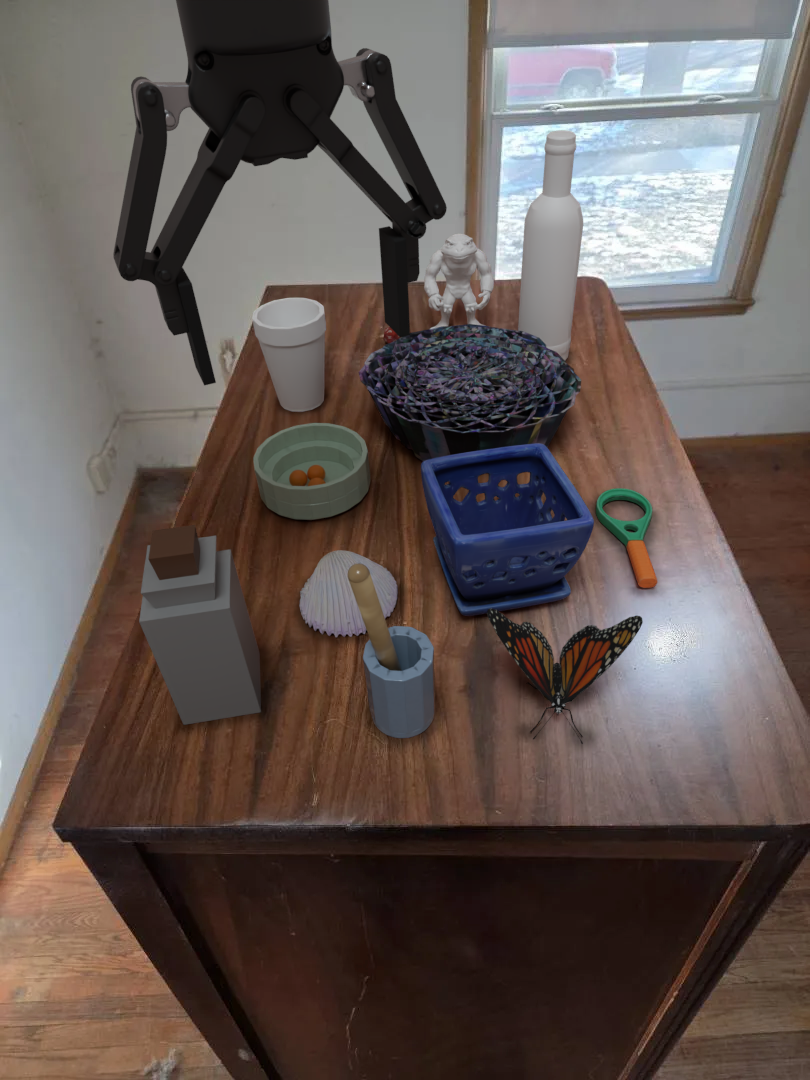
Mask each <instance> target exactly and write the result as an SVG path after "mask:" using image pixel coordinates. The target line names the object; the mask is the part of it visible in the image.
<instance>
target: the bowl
mask: <svg viewBox="0 0 810 1080" xmlns="http://www.w3.org/2000/svg"><path fill="white" fill-rule="evenodd" d="M369 458H370V457H369V449H368V446H367V443H366V440H365V439H364V438H363V437H362V436H361V435H360V433H358V432H357V431H355V430H353V429H351V428H348V427H346V426H344V425H340V424H335V423H330V422H309V423H304V424H303V423H302V424H297V425H293V426H290V427H287V428H285V429H282V430H279V431H278V432H276V433H274V434H273V435H271V436H269V437H267V438H266V439H265V440H264V441H263V442H262V443H261V444H260V445H259V446H257V448H256V450H255V453H254V455H253V458H252V460H253V470H254V474H255V479H256V483H257V487H258V491H259V496H260V499H261V501H262V502H263V503H264V505H265V506H266V508H267V509H269V510H270V511H272V512H274V513H275V514H277V515H279V516H281V517H285V518H288V519H292V520H307V521H312V520H313V521H314V520H320V519H324V518H325V519H326V518H332V517H334V516H337V515H339V514H342V513H345V512H347V511H348V510H350V509H352V508H353V507H355V506H356V505H357V504H359V503H360V502H361V501H362V500H363V499H364V497H365V496H366V495H367V493H368V492H369V488H370V485H371V469H370V460H369ZM312 465H320V466H322V467H323V468H324V470H325V478H324V481H325V484H319V485H313V486H308V483H309V482H310V480H309V479H308V481H307V484H306V485H305V486H292V485H291V484H290V482H289V476H290V474H291V473H292V472H293V471H295V470H302V471H304V472H305V473H306V474H307V471H308V469H309V468H310V467H311V466H312Z"/></svg>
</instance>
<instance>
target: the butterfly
mask: <svg viewBox="0 0 810 1080" xmlns="http://www.w3.org/2000/svg"><path fill="white" fill-rule="evenodd" d="M486 615H487V618H488V620H489V622H490V624H491V626H492V628H493V630H494V632H495V634H496V636H497V637H498V638H499V640H500V642H501V643H502V644H503V646H504V648H505V649H506V650H507V652H508V654H509V655H510V656H511V658H512V659H513V660H514V662H515V663H516V665H517V666H518V668H520V670H521V671H522V672H523V673H524V675H525V676H526V677H527V679H529V680H530V681H531V683H530V682H527V683H526V684H528V685H529V686H530V687H532V688H533V689H535V690H537V691H539V692H540V694H541V695H542V696H543V698H544V700H546V701H547V702H550V706H549V707H545V709H544V711H543V712H542V715H541V718H540V719H539V721H538V722H537V723H536V725H535V726H534V727H533V728H532V729H531V730H530V731H529V733H532V732H533V731H534V730H535V729H536V728H537V727H538V726H539V724H540V723H541V721H542V720H543V718H544V716H545V714H546V712H547V710H548V709H553V713H552V715H551V716H550V717H549V718H548V720H547V721H546V723H545V724H544V725H543V726H542V727H541V729H540V730H538V732H537V734H535V736H533V738H532V740H535V739H536V738H537V736H538V734H540V733H541V731H542V729H543V728H544V727H545V726H546V724H547V723H548V722H549V720H550V719H551V718H552V717H553V715H554V714H556V715H557V716H559V714H563V716H564V718H565V719H566V721H567V722H568V723H569V725H570V726H571V728H572V729H573V732H574V733H575V734H576V736H577V737H578V739H579V741H580V743H581V744H582V745H583V744H584V742H583V741H582V740H581V739H582V738H584V736H583V735H582V734H581V732H580V731H579V729H578V728H577V726H576V724H575V722H574V718H573V714H572V710H571V709H568V708H566V707H567V705H566V704H568V703H572V702H573V701H574V700H575V698H576V697H579V695H581V694H582V693H583V692H584V691H586V690H587V689H588V688H589V687H590V686H591V685H593V684H594V682H595V681H597V679H599V678H600V677H601V676H602V675H603V674H605V672H606V671H608V670H609V668H610V667H612V665H613V664H614V663H615V662H616V661H617V660H618V659H619V658H620V656H621V655H622V654H623V653H624V652H625V651H626V650H627V648H628V647H629V646H630V644H631V643H632V642H633V640H634V639H635V637H636V636H637V634H638V632H639V631H640V630H641V627H642V625H643V623H644V621H643V617H642V615H641V616H640V615H634V616H629V617H627V618H625V619H623V620H622V621H620V622H618V623H617V624H614V625H611V626H609V627H606V628H602V629H601V628H599V627H598V626H597V625H595V624H587V625H586V626H584V627H583V628H581V629H580V630H578V631H577V632H575V633H574V634H572V636H571V637H570V638H568V639H567V641H566V642H565V644H564V645H563V646H562V647H561V651H560V655H559V662H555V660H554V659H555V658H554V653H553V649H552V646H551V645H550V643H549V641H548V639H547V637H545V635H544V633H543V632H542V631H540V630H539V629H538V628H537V627H536V626H535V625H534V624H532V623H531V622H530V621H523V622H522V623H521V624H519V623H516V622H514V621H513V620H511V619H510V618H508V617H507V616H506V615H504V613H502V612H501V611H498V610H495V609H492V608H489V609H488V612H487V613H486ZM526 684H525V685H526ZM564 711H568V712H569V714H570V719H571V723H572V724H571V723H570V721H569V719H568V718H567V716H566V714H565V713H564ZM572 725H573V726H572ZM574 728H575V729H574ZM575 730H576V731H575ZM577 732H578V733H577ZM578 734H579V735H580V736H579V735H578Z"/></svg>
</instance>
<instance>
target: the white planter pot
mask: <svg viewBox="0 0 810 1080" xmlns="http://www.w3.org/2000/svg"><path fill="white" fill-rule="evenodd" d="M251 319H252V325H253V331H254V336H255V338H257V340H258V344H259V346H260V349H261V353H262V355H263V358H264V361H265V365H266V367H267V369H268V373H269V376H270V379H271V382H272V384H273V385H272V386H273V388H274V391H275V394H276V397H277V400H278V402H279V405H280V407H281V408H283V409H284V410H286V411H289V412H293V413H294V412H295V413H296V412H297V413H303V412H307V411H312V410H314V409H316V408H318V407H320V406H321V405H322V404H323V403H324V401H325V366H326V365H325V355H326V354H325V353H326V351H325V350H326V331H327V321H326V314H325V306H324V305H323V304H321V303H320V302H319V301H318V300H315V299H311V298H306V297H286V298H280V299H274V300H271V301H269V302H266V303H263V304H262V305H259V306H258V308H256V309H255V310H254V311H252V318H251Z"/></svg>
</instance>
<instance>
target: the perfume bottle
mask: <svg viewBox="0 0 810 1080" xmlns="http://www.w3.org/2000/svg"><path fill="white" fill-rule="evenodd" d="M143 567H144V568H143V573H142V580H141V581H142V582H141V589H140V594H141V595H142V599H141V606H140V614H139V618H138V619H139V620H138V622H139V625H140V627H141V629H142V632H143V634H144V636H145V639H146V641H147V643H148V646H149V648H150V650H151V652H152V655H153V658H154V660H155V661H156V664H157V666H158V669H159V671H160V673H161V676H162V678H163V681H164V683H165V685H166V688H167V690H168V692H169V694H170V697H171V699H172V701H173V705H174V706H175V708H176V711H177V713H178V715H179V717H180V720H181V722H182V725H183V726H186V725H191V724H198V723H204V722H210V721H216V720H223V719H227V718H228V719H229V718H234V717H240V716H241V717H242V716H247V715H253V714H258V713H262V697H261V694H262V693H261V691H262V690H261V654H260V653H261V652H260V650H259V645H258V642H257V640H256V635H255V631H254V628H253V625H252V620H251V617H250V614H249V610H248V606H247V603H246V598H245V597H244V596H245V595H244V593H243V589H242V585H241V581H240V577H239V575H238V570H237V567H236V563H235V560H234V556H233V553H232V549H231V548H230V549H223V550H217V535H210V536H203V537H199V536H198V531H197V525H196V524H191V525H182V526H175V527H169V528H162V529H155V530H152V531H151V537H150V544H147V547H146V553H145V561H144V566H143Z"/></svg>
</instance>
